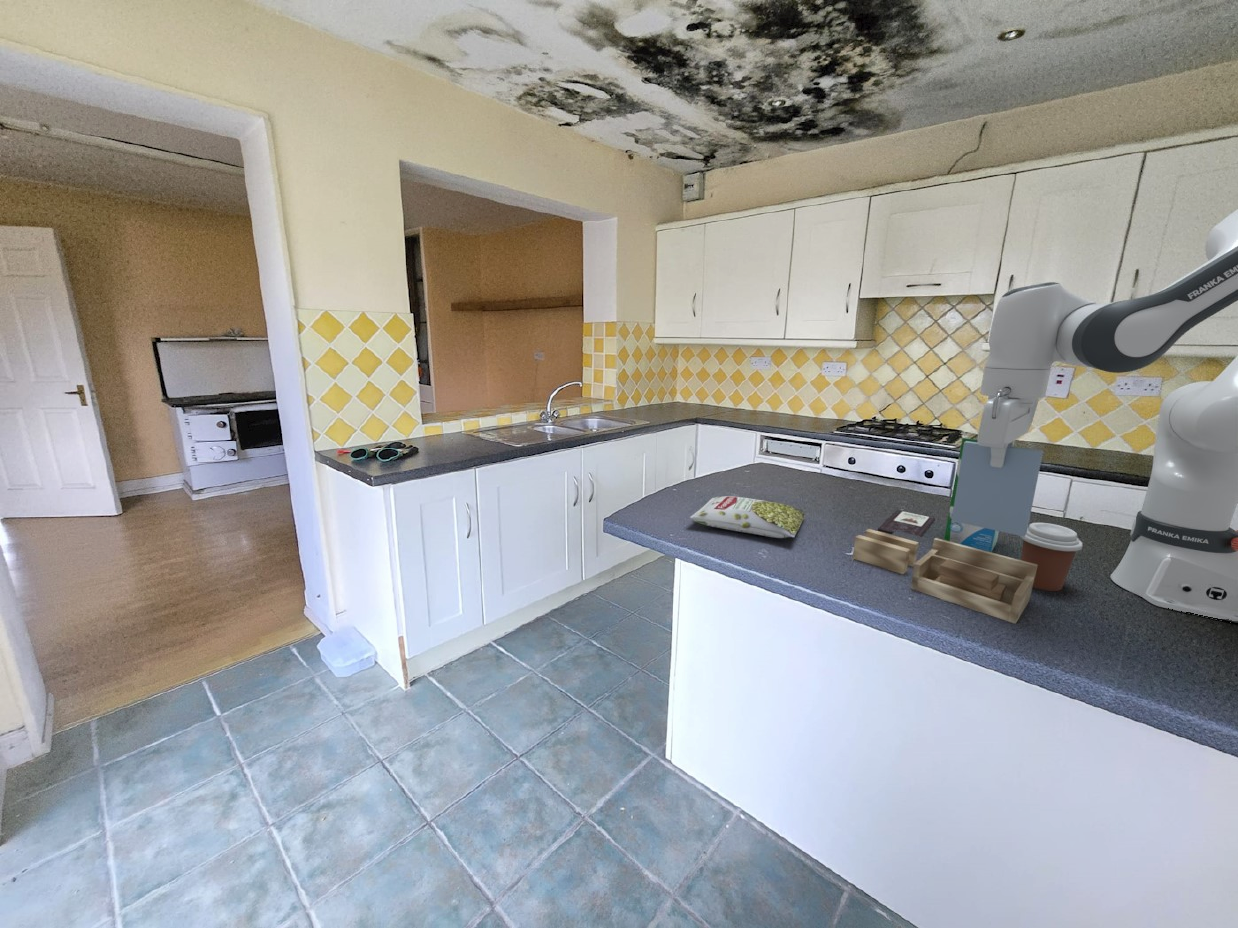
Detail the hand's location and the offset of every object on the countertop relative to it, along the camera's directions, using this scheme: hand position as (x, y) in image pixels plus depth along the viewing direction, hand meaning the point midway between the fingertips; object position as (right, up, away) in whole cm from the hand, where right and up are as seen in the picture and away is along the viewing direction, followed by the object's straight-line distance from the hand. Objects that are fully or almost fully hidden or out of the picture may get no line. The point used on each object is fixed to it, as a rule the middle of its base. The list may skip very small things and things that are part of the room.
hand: (999, 465), depth 89 cm
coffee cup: (+14, -24, +9) cm, 29 cm away
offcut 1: (-4, -20, +2) cm, 21 cm away
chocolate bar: (+6, -16, +40) cm, 43 cm away
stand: (-11, -21, +18) cm, 30 cm away
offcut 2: (-4, -22, +2) cm, 23 cm away
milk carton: (+15, -18, +29) cm, 38 cm away
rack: (-3, -25, +4) cm, 25 cm away
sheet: (0, -11, +3) cm, 12 cm away
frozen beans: (-34, -16, +40) cm, 54 cm away
